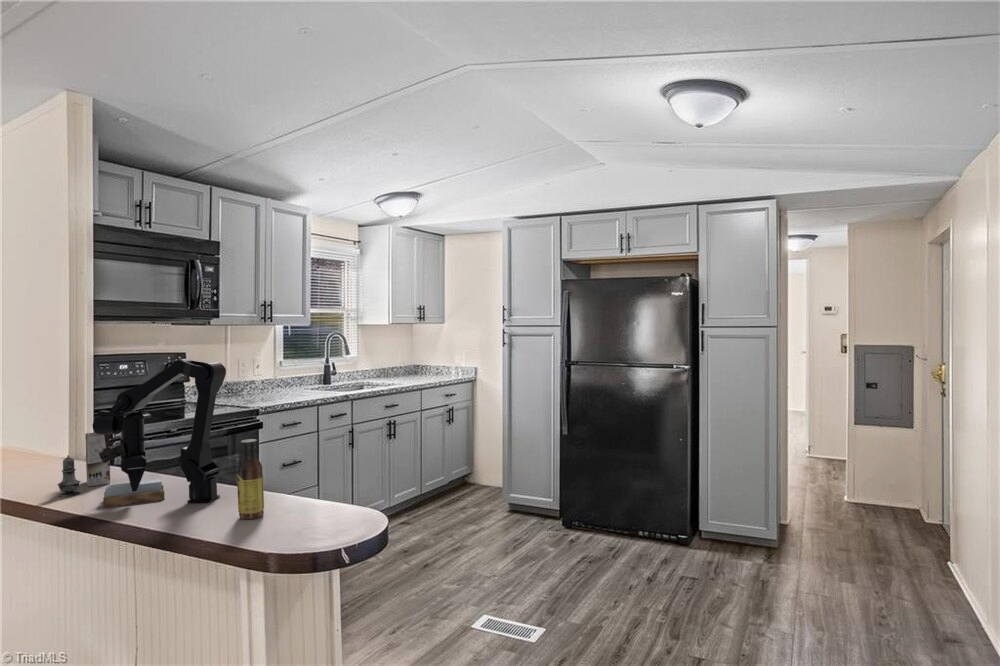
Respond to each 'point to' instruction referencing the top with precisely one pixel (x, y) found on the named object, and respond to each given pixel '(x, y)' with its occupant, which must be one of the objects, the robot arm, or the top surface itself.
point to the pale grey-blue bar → (126, 488)
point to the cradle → (133, 498)
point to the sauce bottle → (250, 482)
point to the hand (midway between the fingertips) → (134, 487)
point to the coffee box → (96, 459)
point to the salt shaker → (68, 479)
